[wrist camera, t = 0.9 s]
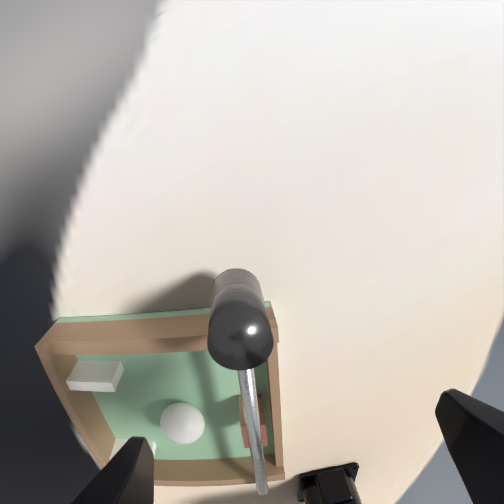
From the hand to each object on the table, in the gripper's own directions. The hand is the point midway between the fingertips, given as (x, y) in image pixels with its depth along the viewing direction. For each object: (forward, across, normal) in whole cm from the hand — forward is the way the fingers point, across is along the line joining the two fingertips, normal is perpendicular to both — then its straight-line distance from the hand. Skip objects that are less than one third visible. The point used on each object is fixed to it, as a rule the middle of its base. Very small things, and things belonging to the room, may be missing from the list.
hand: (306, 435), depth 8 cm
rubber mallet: (+11, +1, +8) cm, 14 cm away
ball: (+10, +6, +10) cm, 15 cm away
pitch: (+12, +7, +10) cm, 17 cm away
